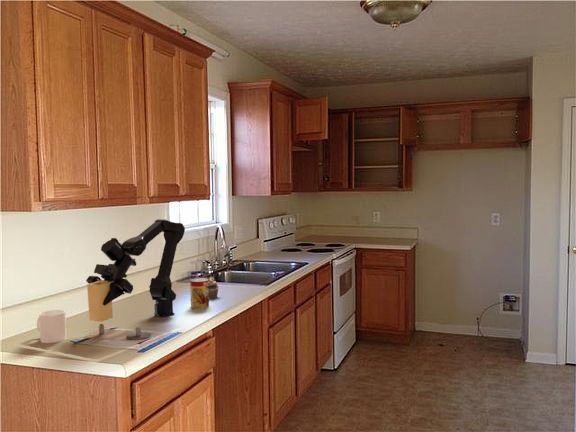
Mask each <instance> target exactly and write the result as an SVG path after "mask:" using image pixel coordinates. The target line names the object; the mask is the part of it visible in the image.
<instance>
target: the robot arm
mask: <svg viewBox="0 0 576 432" xmlns="http://www.w3.org/2000/svg"><path fill="white" fill-rule="evenodd" d="M185 231H186V228H185V226H184V224H183V223H181V222H173V221H170V220H168V219H162V218H161V219H160V218H159V219H156V220H154V222H153V223H152V224H151V225H149V226H148V227H147V228H146V229H144V230H143V231H141V232H140V233H139V234H138V235H137V236H134V237H131V238H128V239H127V240H124V241H123V242H122V244H121V243H120V242H119V240H118V238H117V237H111V239H110V240H109V239H108V241H105V243H103V244H102V245H101V247H100V251H101V252H102V253H103V254H104V255H105V256H106V257H107V258H108V259H109V260H110V261H111V262H113V263H108V264H98V263H96V264H95V268H94V270H93V273H94V274H98V275H100V276H98V275H89V276H88V277H87V278H86V280H85V282H87V284H90V283H94V282H98V281H104V282H111V284H110V290H109V292H108V294H107V296H106V298H105V299H104V302H103V305H107V304H108V303H110V302H111V301H112V302H113V301H115V300H116V299H118V298H119V297H121V296H124V295H125V294H132V292H133V291H134V285H133V284H132V283H131V282H130V281H129V280H128V279H127V277H128V274H127V272H128V270H129V269H130V268H131V266H136V267H137V261H136V258H133V257H132V256H134V257H139V256H141V255H142V254H143V253H144V252H145V250H146V249H147V245H148V244H149V243H150V242H151V241H153V240H154V239H155V238H156V237H157V236H159V235H160V234H161V233H163V239H164V240H165V241H164V247H163V252H162V255H161V260H160V264H159V268H158V272H157V275H156V277H151V279H150V284H149V286H148V288H149V293H150V296H151V300H152V301H155V303H154V315H155V316H157V317H160V318H162V317H167V316H173V315H175V314H176V313H175V312H174V307H173V305H174V304H173V301H175V300H176V298H177V294H176V292H174V290H173V289H172V286H173V285H172V284H173V283H172V280H171V277H170V276H171V274H172V273H171V272H172V268H173V264H174V260H175V256H176V252H177V246H178V244H179V243H180V242H181V241H182V240H183V237H184V234H185Z"/></svg>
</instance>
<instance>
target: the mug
mask: <svg viewBox="0 0 576 432" xmlns="http://www.w3.org/2000/svg"><path fill="white" fill-rule="evenodd" d="M38 316H39V317H38V318H37V320H36V327H37V331H38V332H39V337H40V338H39V340H40V342H41V343H43V344H53V343H54V344H55V343H59V342H62V341H65V340H66V339H67V319H66V310H64V309H51V310H46V311H45V310H44V311H41V312H39V314H38Z"/></svg>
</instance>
